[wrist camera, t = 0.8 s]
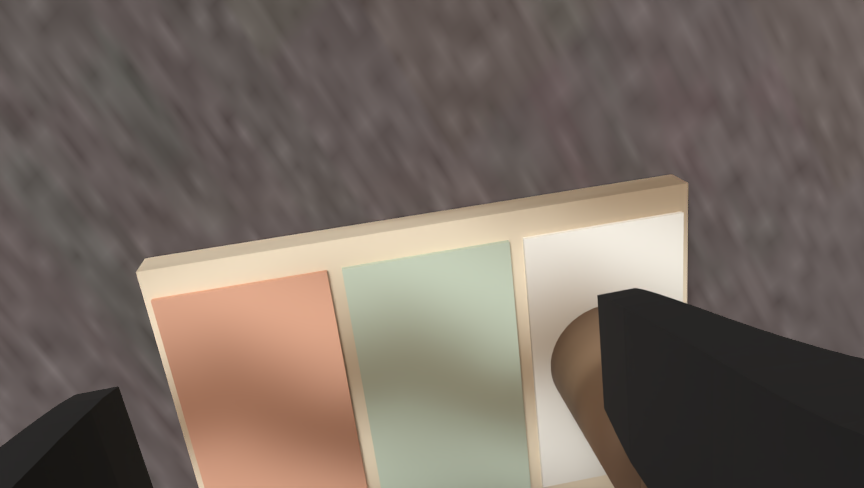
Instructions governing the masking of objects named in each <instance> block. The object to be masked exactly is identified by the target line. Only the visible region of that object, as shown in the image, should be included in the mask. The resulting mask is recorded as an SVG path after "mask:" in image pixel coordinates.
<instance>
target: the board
mask: <svg viewBox="0 0 864 488" xmlns="http://www.w3.org/2000/svg"><path fill="white" fill-rule="evenodd" d="M687 252H688V183H687V182H685V181H683V180H681V179H680V178H678V177H676V176H674V175H672V174H670V175H664V176H658V177H651V178H645V179H639V180H633V181H626V182H620V183H614V184H608V185H601V186H595V187H589V188H583V189H576V190H570V191H564V192H558V193H551V194H545V195H539V196H533V197H526V198H520V199H514V200H508V201H501V202H495V203H489V204H483V205H476V206H470V207H464V208H458V209H451V210H445V211H439V212H432V213H426V214H420V215H414V216H407V217H401V218H395V219H389V220H382V221H376V222H370V223H364V224H357V225H351V226H345V227H339V228H332V229H326V230H320V231H314V232H307V233H301V234H295V235H289V236H282V237H276V238H270V239H264V240H257V241H251V242H245V243H239V244H232V245H226V246H220V247H214V248H207V249H201V250H195V251H189V252H182V253H176V254H170V255H164V256H157V257H151V258H145V259H144V261H143V263H142V264H141V266H140V267H139V269H138V270H137V272H136V274H137V277H138V280H139V284H140V287H141V291H142V294H143V298H144V301H145V304H146V308H147V311H148V315H149V318H150V322H151V325H152V328H153V332H154V335H155V339H156V342H157V346H158V349H159V352H160V356H161V359H162V363H163V366H164V370H165V373H166V376H167V380H168V383H169V387H170V390H171V394H172V397H173V400H174V404H175V407H176V411H177V414H178V418H179V421H180V424H181V428H182V431H183V435H184V438H185V442H186V445H187V448H188V452H189V455H190V459H191V462H192V466H193V469H194V472H195V476H196V479H197V483H198V486H199V488H614V486H613V484H612V483H611V481H610V479H609V477H608V476H607V474H606V472H605V471H604V469H603V467H602V465H601V464H600V462H599V460H598V459H597V457H596V455H595V453H594V452H593V450H592V448H591V447H590V445H589V443H588V441H587V440H586V438H585V436H584V435H583V433H582V431H581V429H580V428H579V426H578V424H577V423H576V421H575V419H574V418H573V416H572V414H571V412H570V411H569V409H568V407H567V406H566V404H565V402H564V400H563V399H562V397H561V395H560V394H559V392H558V390H557V388H556V386H555V384H554V382H553V379H552V375H551V357H552V353H553V349H554V347H555V344H556V342H557V340H558V338H559V337H560V335H561V334H562V332H563V331H564V330H565V328H566V327H567V326H568V325H569V324H570V323H571V322H572V321H573V320H575V319H576V318H577V317H579V316H580V315H582V314H583V313H585V312H587V311H589V310H591V309H593V308H596V307H598V298H597V295H601V294H606V293H611V292H616V291H622V290H627V289H632V288H639V289H643V290H647V291H651V292H654V293H657V294H661V295H664V296H667V297H669V298H672V299H675V300H678V301H681V302H684V303H687Z"/></svg>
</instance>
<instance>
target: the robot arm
mask: <svg viewBox="0 0 864 488" xmlns="http://www.w3.org/2000/svg"><path fill="white" fill-rule="evenodd" d="M597 298H598V315H599V332H600V349H601V366H602V383H603V400H604V409H605V412H606V414H607V416H608V418H609V420H610V422H611V424H612V426H613V428H614V431H615V433H616V435H617V437H618V439H619V441H620V443H621V445H622V447H623V449H624V451H625V453H626V455H627V457H628V458H629V460H630V462H631V464H632V465H633V467H634V468H635V470H636V471H637V473H638V474H639V476H640V477H641V479H642V480H643V482H644V483H645V485H646V486H647V488H864V359H862V358H858V357H853V356H849V355H845V354H842V353H838V352H834V351H830V350H826V349H823V348H819V347H816V346H812V345H809V344H806V343H802V342H799V341H796V340H792V339H789V338H786V337H782V336H779V335H776V334H773V333H770V332H767V331H763V330H760V329H757V328H754V327H751V326H748V325H746V324H743V323H740V322H737V321H734V320H731V319H728V318H725V317H723V316H720V315H717V314H714V313H712V312H709V311H706V310H703V309H700V308H698V307H695V306H692V305H689V304H687V303H684V302H681V301H678V300H675V299H672V298H669V297H667V296H664V295H661V294H657V293H654V292H651V291H647V290H643V289H639V288H632V289H627V290H622V291H616V292H611V293H606V294H601V295H597ZM0 488H153V486H152V483H151V480H150V477H149V474H148V471H147V468H146V465H145V463H144V460H143V457H142V454H141V451H140V448H139V445H138V442H137V439H136V436H135V433H134V430H133V428H132V425H131V422H130V419H129V416H128V413H127V410H126V407H125V404H124V401H123V398H122V395H121V393H120V390H119V387H113V388H108V389H103V390H98V391H92V392H87V393H82V394H77V395H74V396H72V397H71V398H69V399H67V400H65V401H64V402H62V403H60V404H59V405H57V406H56V407H54V408H53V409H51V410H50V411H49V412H47V413H46V414H44V415H43V416H42V417H40V418H39V419H37V420H36V421H35V422H33V423H32V424H31V425H29V426H28V427H26V428H25V429H24V430H22V431H21V432H20V433H18V434H17V435H16V436H14V437H13V438H12V439H10V440H9V441H8V442H6V443H5V444H4V445H2V446H1V447H0Z"/></svg>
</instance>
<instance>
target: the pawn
mask: <svg viewBox="0 0 864 488" xmlns="http://www.w3.org/2000/svg"><path fill="white" fill-rule="evenodd" d="M551 375H552V379H553V382H554V384H555V386H556V388H557V390H558V392H559V394H560V395H561V397H562V399H563V400H564V402H565V404H566V406H567V407H568V409H569V411H570V412H571V414H572V416H573V418H574V419H575V421H576V423H577V424H578V426H579V428H580V429H581V431H582V433H583V435H584V436H585V438H586V440H587V441H588V443H589V445H590V447H591V448H592V450H593V452H594V453H595V455H596V457H597V459H598V460H599V462H600V464H601V465H602V467H603V469H604V471H605V472H606V474H607V476H608V477H609V479H610V481H611V483H612V484H613V486H614V488H647V486H646V485H645V483H644V482H643V480H642V479H641V477H640V476H639V474H638V473H637V471H636V470H635V468H634V467H633V465H632V464H631V462H630V460H629V458H628V457H627V455H626V453H625V451H624V449H623V447H622V445H621V443H620V441H619V439H618V437H617V435H616V433H615V431H614V428H613V426H612V424H611V422H610V420H609V418H608V416H607V414H606V412H605V409H604V400H603V383H602V366H601V349H600V332H599V315H598V307H596V308H593V309H591V310H589V311H587V312H585V313H583V314H582V315H580V316H579V317H577V318H576V319H575V320H573V321H572V322H571V323H570V324H569V325H568V326H567V327H566V328H565V330H564V331H563V332H562V334H561V335H560V337H559V338H558V340H557V342H556V344H555V347H554V349H553V353H552V357H551Z"/></svg>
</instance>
